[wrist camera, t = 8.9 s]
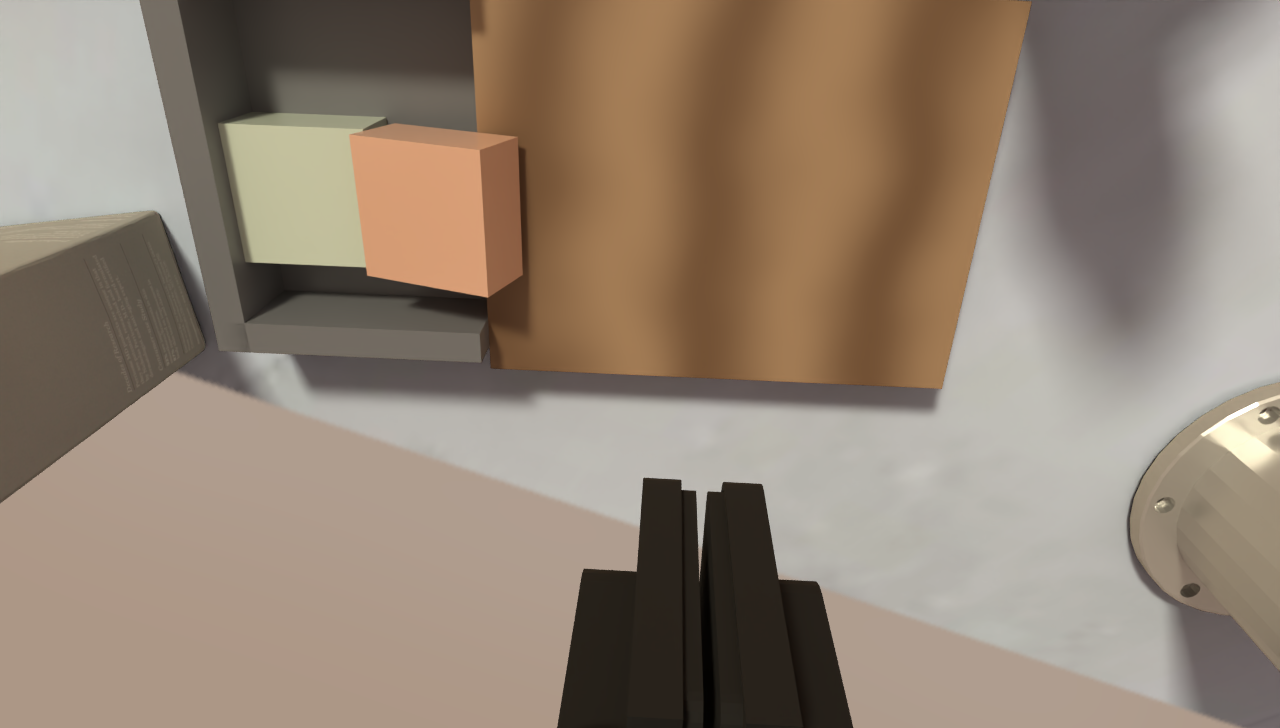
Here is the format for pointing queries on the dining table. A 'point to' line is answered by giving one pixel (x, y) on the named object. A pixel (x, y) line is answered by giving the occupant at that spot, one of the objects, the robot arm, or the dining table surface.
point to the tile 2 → (439, 207)
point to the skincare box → (83, 331)
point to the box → (326, 85)
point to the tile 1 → (295, 186)
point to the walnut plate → (744, 181)
